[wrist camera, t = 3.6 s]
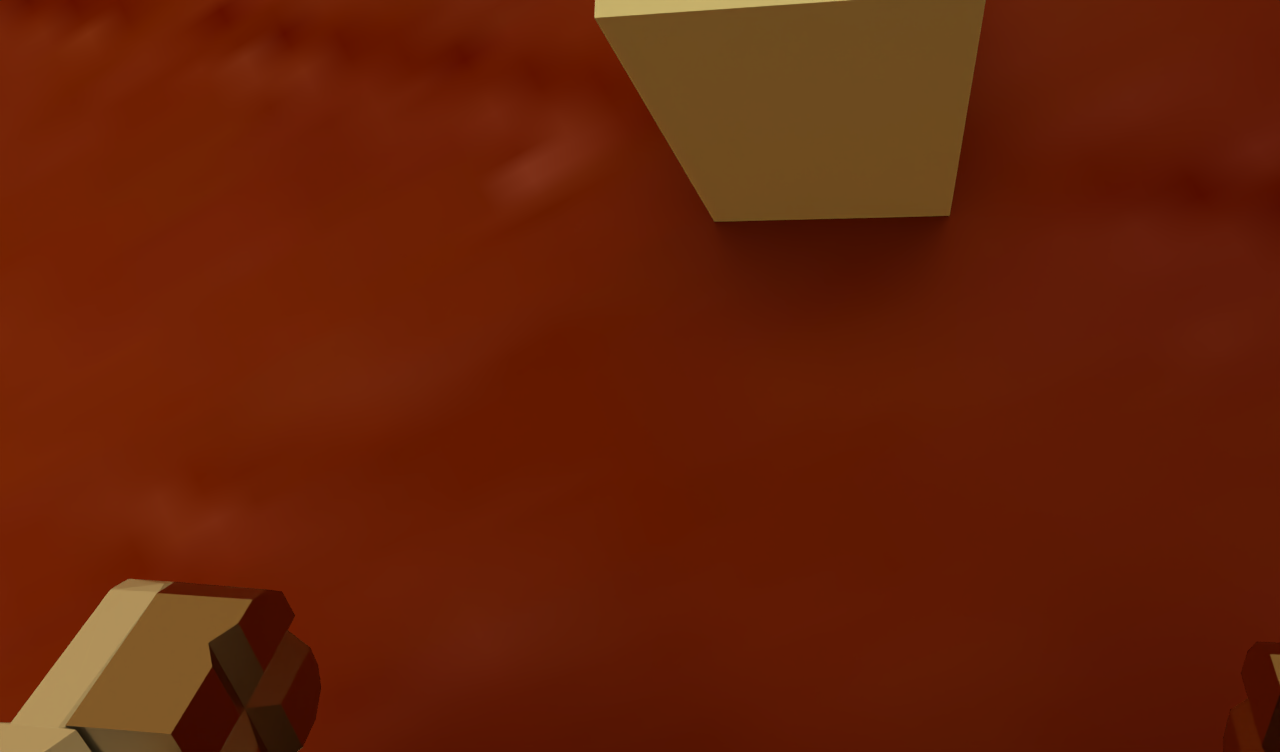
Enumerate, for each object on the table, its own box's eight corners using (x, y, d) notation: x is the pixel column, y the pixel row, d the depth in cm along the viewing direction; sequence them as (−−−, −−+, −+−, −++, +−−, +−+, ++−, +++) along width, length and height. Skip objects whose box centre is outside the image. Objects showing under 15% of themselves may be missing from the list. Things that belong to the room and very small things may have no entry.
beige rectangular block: (950, -10, 24) (985, -378, 14) (949, 215, 23) (987, -10, 14) (720, 6, 25) (610, -323, 15) (714, 221, 24) (594, 18, 15)
